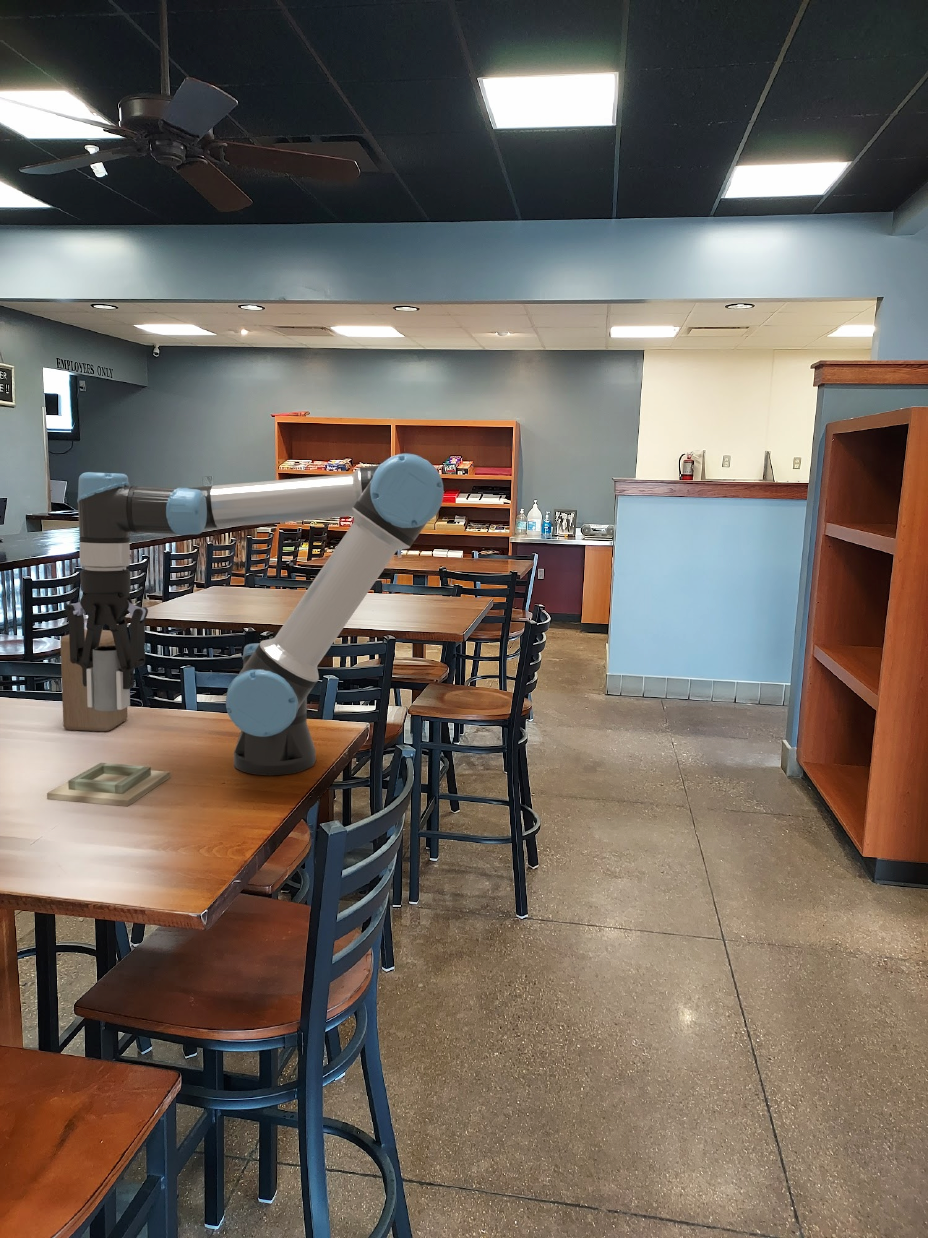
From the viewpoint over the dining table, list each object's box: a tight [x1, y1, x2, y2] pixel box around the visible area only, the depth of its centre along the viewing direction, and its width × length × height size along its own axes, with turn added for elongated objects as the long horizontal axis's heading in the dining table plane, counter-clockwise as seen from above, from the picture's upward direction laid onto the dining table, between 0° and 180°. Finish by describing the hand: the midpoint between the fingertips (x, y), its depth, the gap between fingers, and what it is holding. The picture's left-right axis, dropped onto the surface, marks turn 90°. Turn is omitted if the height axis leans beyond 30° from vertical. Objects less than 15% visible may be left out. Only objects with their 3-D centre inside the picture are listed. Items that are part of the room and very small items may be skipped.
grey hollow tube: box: [93, 646, 121, 711], centre depth 136 cm, size 4×4×10 cm
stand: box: [46, 762, 171, 807], centre depth 138 cm, size 14×14×2 cm
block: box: [60, 628, 129, 732], centre depth 172 cm, size 10×10×20 cm
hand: (108, 706), depth 136 cm, fingers closed on grey hollow tube, 4 cm apart
